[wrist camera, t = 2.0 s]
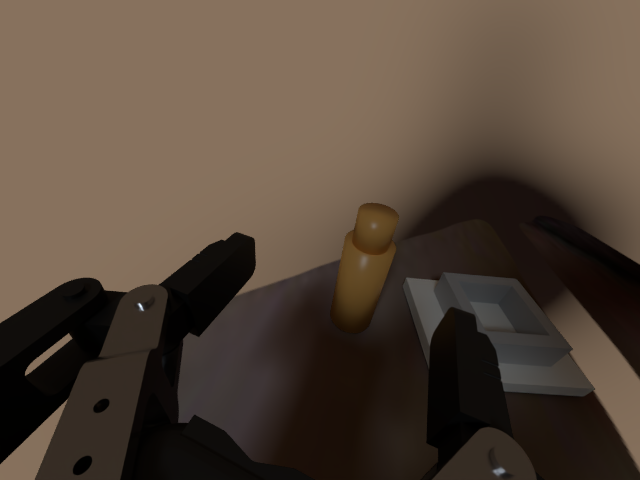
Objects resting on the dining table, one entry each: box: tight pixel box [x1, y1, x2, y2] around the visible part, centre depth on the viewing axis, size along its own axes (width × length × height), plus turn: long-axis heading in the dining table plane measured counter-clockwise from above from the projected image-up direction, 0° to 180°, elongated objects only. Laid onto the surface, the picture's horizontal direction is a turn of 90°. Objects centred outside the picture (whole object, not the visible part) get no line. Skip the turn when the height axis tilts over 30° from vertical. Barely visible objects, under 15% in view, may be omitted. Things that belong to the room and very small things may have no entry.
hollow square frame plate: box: [403, 272, 595, 396], centre depth 27 cm, size 14×12×4 cm
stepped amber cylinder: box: [330, 203, 399, 333], centre depth 25 cm, size 4×4×13 cm
